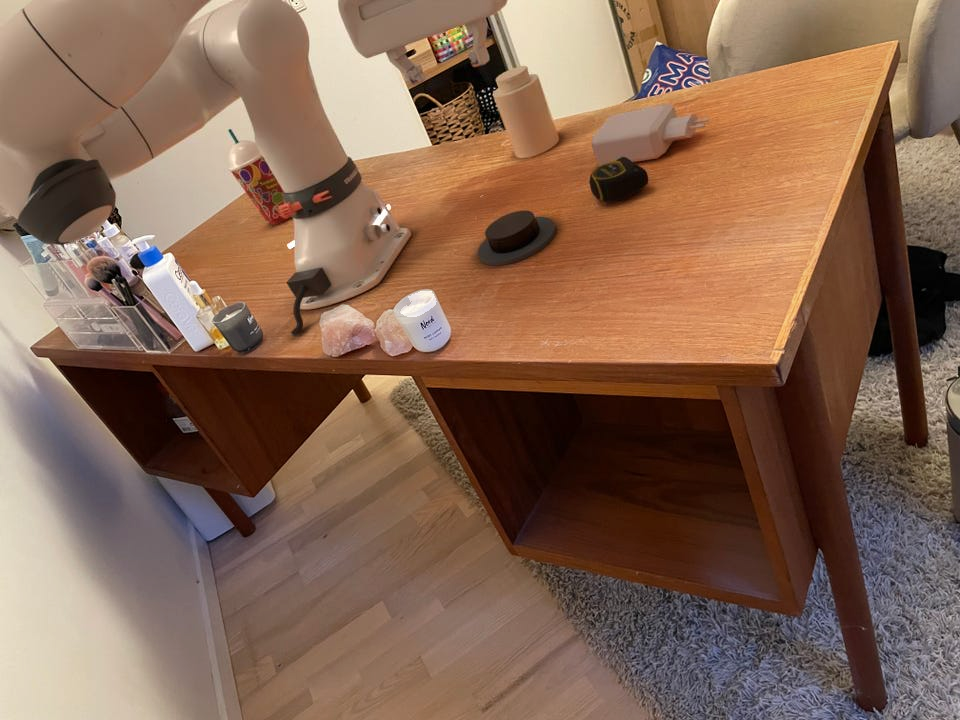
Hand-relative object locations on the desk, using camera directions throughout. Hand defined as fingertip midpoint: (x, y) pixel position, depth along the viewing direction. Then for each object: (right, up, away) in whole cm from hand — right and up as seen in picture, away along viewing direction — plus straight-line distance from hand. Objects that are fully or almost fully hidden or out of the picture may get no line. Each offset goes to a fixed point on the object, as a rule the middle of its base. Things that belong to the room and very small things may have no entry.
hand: (449, 73), depth 80 cm
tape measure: (+23, -11, +12) cm, 28 cm away
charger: (+29, -3, +19) cm, 35 cm away
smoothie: (-38, -4, +65) cm, 75 cm away
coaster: (+9, -18, +12) cm, 23 cm away
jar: (+14, +4, +39) cm, 41 cm away
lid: (+8, -16, +11) cm, 21 cm away
